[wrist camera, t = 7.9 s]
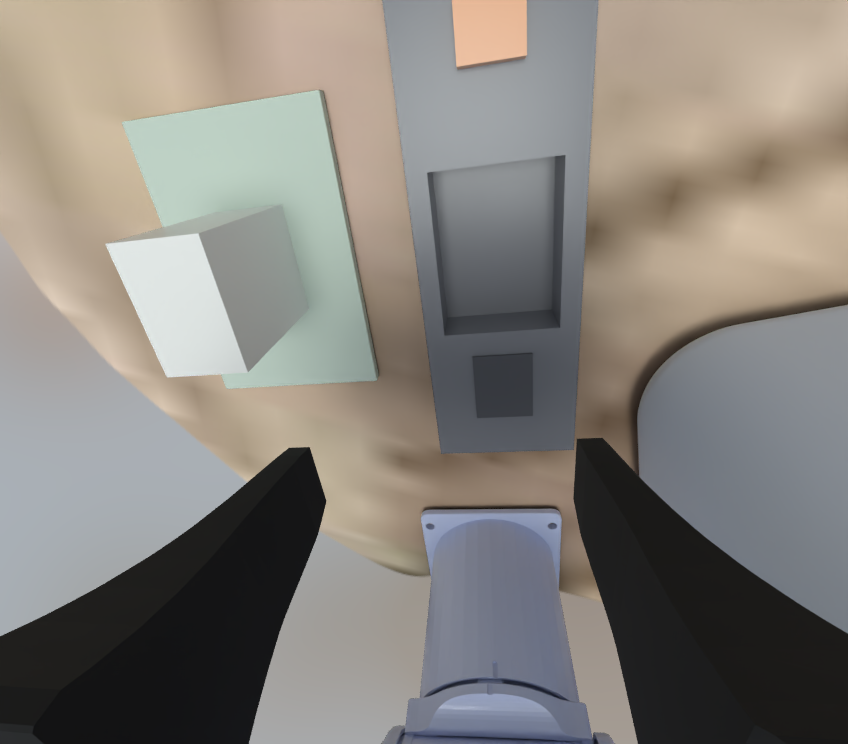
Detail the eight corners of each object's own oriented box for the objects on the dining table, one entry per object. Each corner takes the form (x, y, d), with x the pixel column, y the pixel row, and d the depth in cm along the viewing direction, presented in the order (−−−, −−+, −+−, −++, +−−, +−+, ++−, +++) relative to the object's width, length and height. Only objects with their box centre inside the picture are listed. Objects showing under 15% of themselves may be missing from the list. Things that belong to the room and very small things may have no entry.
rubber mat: (378, 375, 21) (376, 380, 21) (231, 383, 22) (226, 388, 22) (323, 91, 16) (318, 89, 15) (130, 122, 17) (121, 122, 16)
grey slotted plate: (563, 417, 21) (576, 458, 19) (444, 422, 22) (440, 462, 20) (582, -72, 13) (611, -128, 10) (389, -33, 14) (369, -74, 11)
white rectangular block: (309, 309, 19) (248, 372, 14) (248, 313, 20) (167, 377, 15) (281, 204, 17) (198, 233, 12) (214, 212, 18) (105, 244, 13)
